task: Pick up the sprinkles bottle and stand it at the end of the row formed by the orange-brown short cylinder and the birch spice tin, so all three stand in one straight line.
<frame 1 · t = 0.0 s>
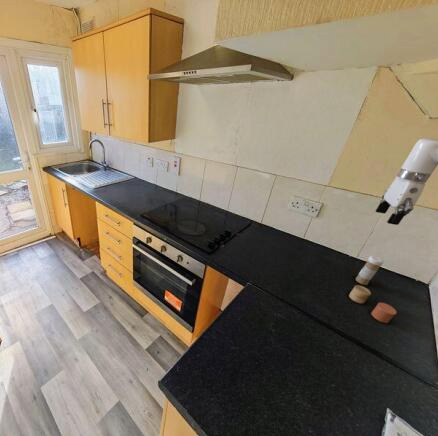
hand: (385, 217, 88), 33 cm above the table, tool pointing down, fingers open, 9 cm apart
orange-brown short cylinder: (379, 316, 87), on the table
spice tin: (356, 298, 94), on the table
sprinkles bottle: (361, 281, 103), on the table
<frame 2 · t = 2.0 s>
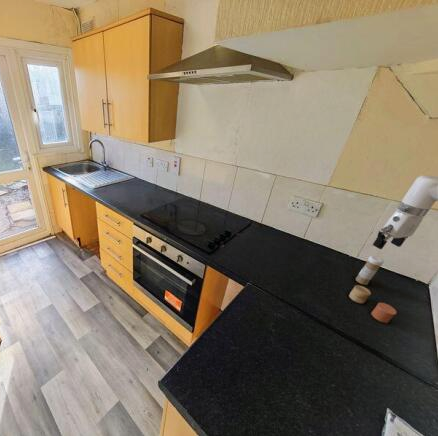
hand: (386, 245, 93), 20 cm above the table, tool pointing down, fingers open, 9 cm apart
nothing on the table moved.
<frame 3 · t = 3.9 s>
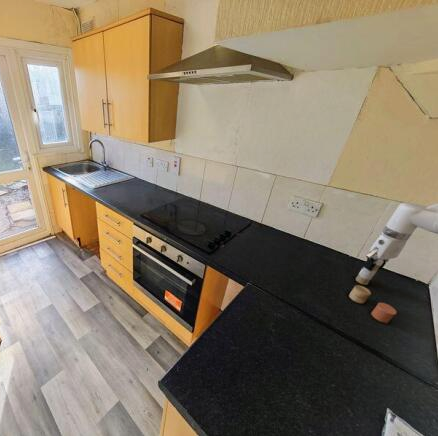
hand: (372, 267, 98), 9 cm above the table, tool pointing down, fingers closed on sprinkles bottle, 4 cm apart
sprinkles bottle: (361, 281, 103), on the table, touching gripper
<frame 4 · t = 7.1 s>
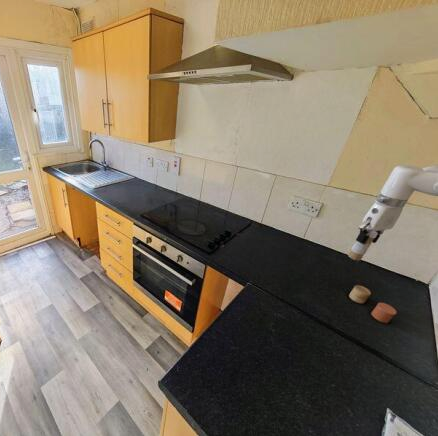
hand: (365, 241, 91), 23 cm above the table, tool pointing down, fingers closed on sprinkles bottle, 4 cm apart
sprinkles bottle: (354, 257, 95), point 14 cm above the table, touching gripper
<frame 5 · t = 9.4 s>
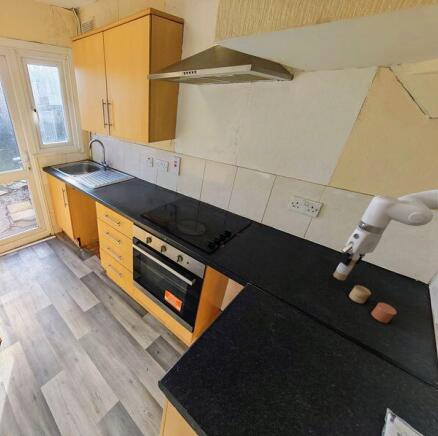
hand: (349, 262, 96), 12 cm above the table, tool pointing down, fingers closed on sprinkles bottle, 4 cm apart
sprinkles bottle: (338, 277, 101), point 3 cm above the table, touching gripper
when the fingers open (9 cm above the table, at t = 10.6 s): sprinkles bottle stays where it is, on the table.
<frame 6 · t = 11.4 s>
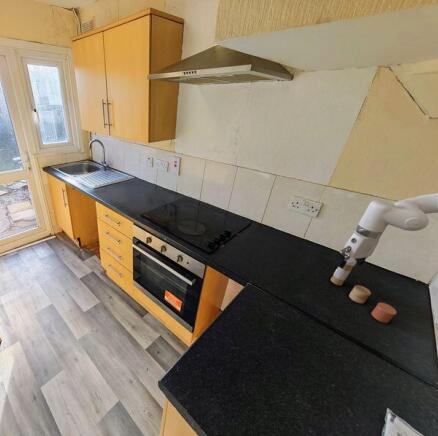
hand: (348, 265, 97), 11 cm above the table, tool pointing down, fingers open, 9 cm apart
sprinkles bottle: (336, 282, 102), on the table
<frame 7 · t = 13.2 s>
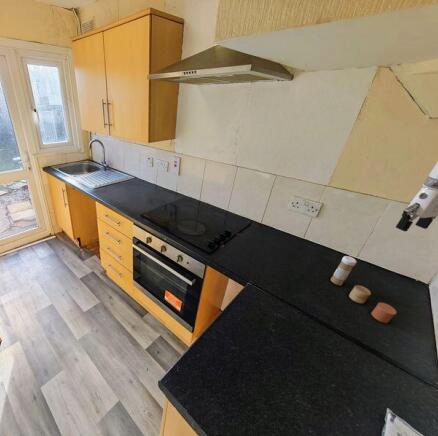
hand: (410, 228, 83), 32 cm above the table, tool pointing down, fingers open, 9 cm apart
nothing on the table moved.
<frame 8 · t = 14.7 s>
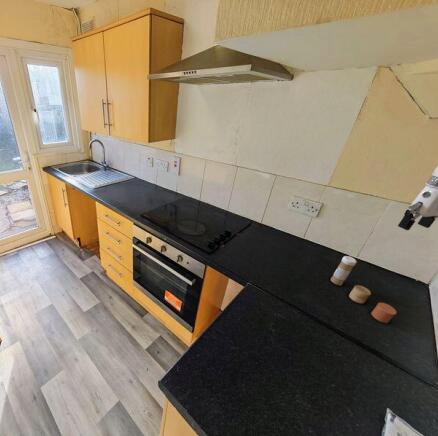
hand: (413, 227, 83), 32 cm above the table, tool pointing down, fingers open, 9 cm apart
nothing on the table moved.
at the end: sprinkles bottle 0.4 cm from the target spot, on the table; sprinkles bottle tilted 0° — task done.
